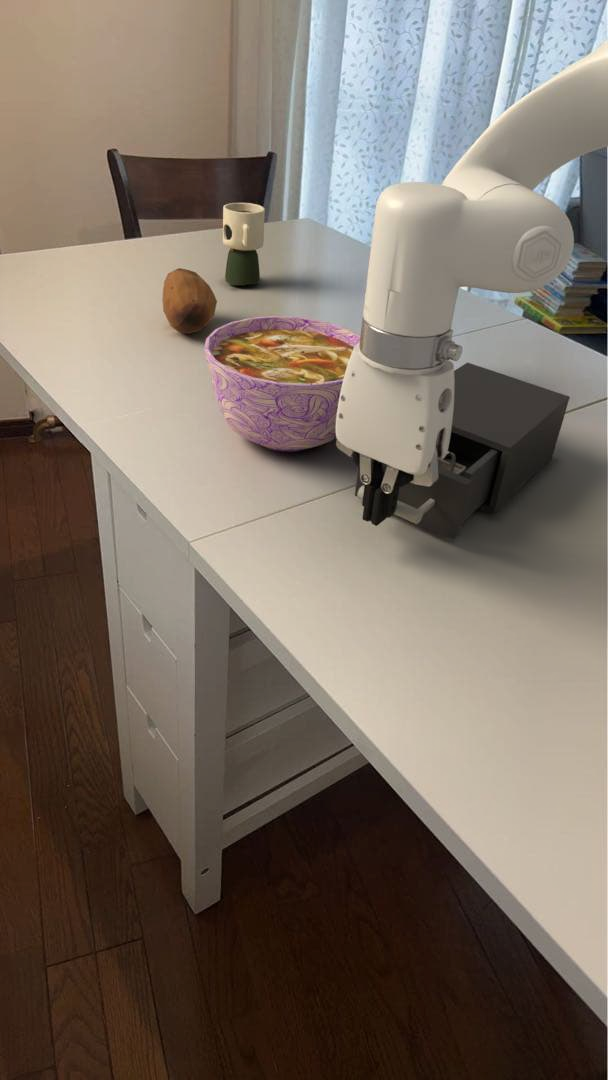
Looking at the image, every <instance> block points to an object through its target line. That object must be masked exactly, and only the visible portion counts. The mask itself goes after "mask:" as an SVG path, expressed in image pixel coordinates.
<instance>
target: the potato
mask: <svg viewBox="0 0 608 1080" xmlns="http://www.w3.org/2000/svg"><path fill="white" fill-rule="evenodd" d="M217 303H218V301H217V298H216V295H215V293H214V291H213V289H212V288H211V286H210V285H209V283H207V282H206V281H205V279H204V278H202V277H201V276H200V275H199V274H198V273H197V272H195V271H193V270H190V269H187V268H177V269H174V270H172V271H170V272H168V273H167V274H166V277H165V280H164V282H163V288H162V309H163V313H164V315H165V318H166V319H167V322H168V324H169V325H170V327H171V328H173V329H174V330H175V331H177V332H179V333H182V334H187V335H188V334H192V333H196V332H200V331H201V329H204V327H206V326H207V325H208V324H209V323H210V322H211V320H212V319H213V317H214V316H215V313H216V308H217Z"/></svg>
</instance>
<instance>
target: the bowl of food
mask: <svg viewBox="0 0 608 1080" xmlns="http://www.w3.org/2000/svg"><path fill="white" fill-rule="evenodd" d="M360 336H361V334H358V333H357V332H354V331H352V330H351V329H348V328H347V327H344V326H341V325H338V324H336V323H335V324H334V323H331V322H328V321H324V320H320V319H313V318H307V317H302V316H284V315H283V316H282V315H281V316H280V315H271V316H270V315H269V316H256V317H249V318H245V319H244V318H243V319H240V320H233V321H231V322H229V323H226V324H224V325H222V326H219V327H218V328H215V329H214V330H213V331H212V332H211V333H210V334H209V335H208V336H207V337H205V344H204V353H205V358H206V363H207V367H208V369H209V370H208V371H209V375H210V380H211V381H212V382H211V383H212V387H213V390H214V394H215V399H216V402H217V404H218V408H219V412H220V413H221V414H222V416H223V418H224V419H225V421H226V422H227V424H228V425H229V426H230V428H231V429H232V430H233V431H234V432H235V433H237V435H239V436H241V437H242V438H244V440H248V441H250V442H252V443H255V444H257V445H260V446H262V447H265V448H266V449H269V450H273V451H278V452H290V453H291V452H293V453H294V452H299V451H300V452H301V451H303V450H306V449H312V448H315V447H319V446H322V445H325V444H328V443H330V442H332V441H333V440H334V439H337V437H336V416H337V409H338V403H339V397H340V392H341V388H342V383H343V379H344V375H345V372H346V368H347V365H348V362H349V359H350V356H351V354H352V351H353V348H354V346H355V345H356V344H358V343H360Z"/></svg>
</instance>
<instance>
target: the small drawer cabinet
mask: <svg viewBox="0 0 608 1080" xmlns="http://www.w3.org/2000/svg"><path fill="white" fill-rule="evenodd" d="M570 398H571V396H569V395H566V394H564V393H561V392H557V391H554V390H551V389H548V388H546V387H542V386H540V385H536V384H534V383H531V382H528V381H524V380H521V379H519V378H516V377H514V376H513V377H512V376H510V375H506V374H503V373H502V372H501V373H500V372H497V371H495V370H492V369H489V368H485V367H483V366H480V365H477V364H474V363H471V362H465V363H463V365H461V366H459V367H458V368H456V369H454V409H453V419H452V428H451V432H453V433H455V434H458V435H461V436H463V437H466V438H468V439H471V440H474V441H476V442H479V443H481V444H484V445H487V446H489V447H492V448H495V449H497V450H500V451H502V455H501V459H500V463H499V467H498V471H497V476H496V480H495V484H494V488H493V492H492V496H491V497H490V498H489V499H488V500H486V501H485V502H484V503H483V504H482V505H481V506H480V507H479V508H478V509H477V510H479V511H483V512H484V513H487V514H490V515H492V516H494V515H496V513H497V512H499V511H500V510H501V509H502V508H503V507H504V505H506V504H507V503H508V502H509V501H510V500H511V499H512V498H513V497H514V496H515V495H516V494H517V493H518V492H519V491H520V490H522V488H524V486H525V485H527V483H529V482H530V481H531V480H532V479H533V478H534V477H535V476H536V475H537V474H538V473H539V472H540V471H541V470H542V469H543V468H544V467H545V466H546V465H547V464H548V463H549V462H551V460H552V459H553V455H554V453H555V449H556V445H557V442H558V439H559V436H560V433H561V428H562V425H563V421H564V420H565V419H564V418H565V415H566V411H567V408H568V405H569V402H570Z"/></svg>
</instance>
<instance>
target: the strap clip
mask: <svg viewBox="0 0 608 1080" xmlns="http://www.w3.org/2000/svg"><path fill="white" fill-rule="evenodd" d="M447 455H449V456H451V457H452V460H448V459H445V460H438V467H441V468H443V469H446V470H448V471H451V472H453V473H456V474H458V475H460V476H463V475H464V473H465V471H466V466H463V465H461V464H459V463H456V462H455V458H456V457H455V454H453V453H451V452H449V451H447Z"/></svg>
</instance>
